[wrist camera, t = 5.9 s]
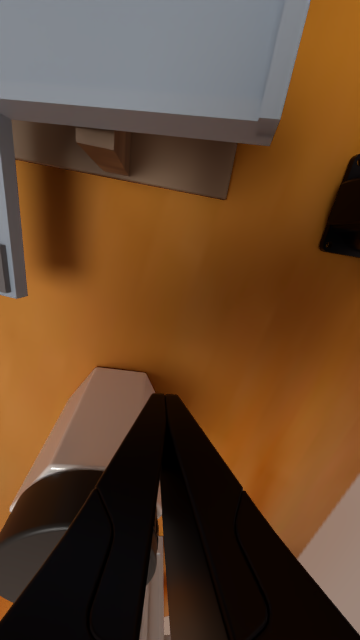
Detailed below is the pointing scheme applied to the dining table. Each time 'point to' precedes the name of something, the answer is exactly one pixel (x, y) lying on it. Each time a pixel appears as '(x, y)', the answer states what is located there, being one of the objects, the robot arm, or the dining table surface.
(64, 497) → the jar
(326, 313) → the dining table surface
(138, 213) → the dining table surface
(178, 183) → the catapult base
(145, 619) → the stool
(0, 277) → the lever
